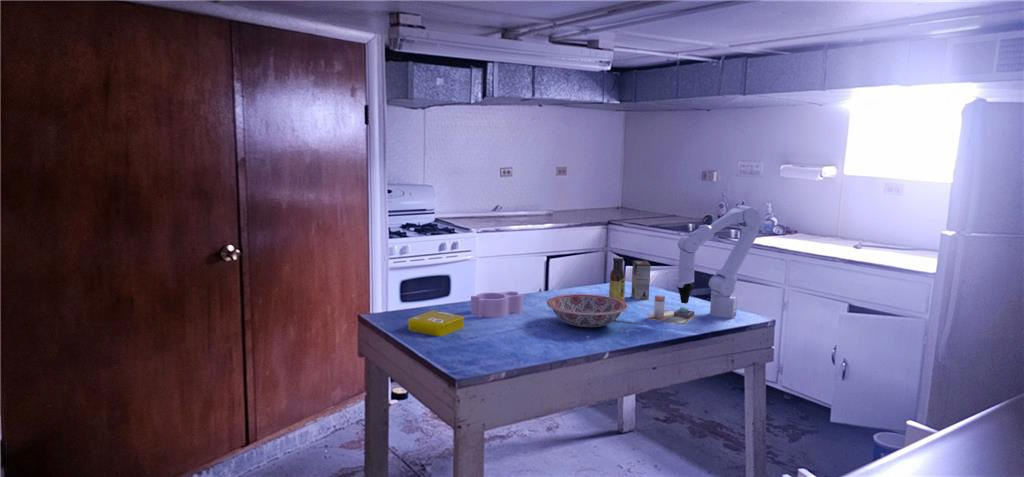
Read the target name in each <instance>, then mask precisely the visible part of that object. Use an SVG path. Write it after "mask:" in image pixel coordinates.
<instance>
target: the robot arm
mask: <svg viewBox="0 0 1024 477" xmlns="http://www.w3.org/2000/svg"><path fill="white" fill-rule="evenodd" d="M761 215H762V214H761V213H760V211H759V209H758V208H756V207H753V206H746V205H744V204H738V205H737V206H735V207H733V208H731V209H730V210H729V211H727V213H725V214H723V215H722V216H721V217H719V218H718V219H717V220H715V221H713V222H712V223H711V224H710V225H709V224H701V225H699V226H698V228H697V229H695V230H694V231H693V232H688V235H682V236H681V237H680V238H679V240H678V242H677V245H676V246H677V247H678V248H679V255H678V256H679V257H678V258H679V260H678V276H677V277H674V281H677V284H676V288H677V290H678V293H679V297H680V302H681V304H684V305H685V304H689V300H690V297H691V293H692V290H693V289H694V287H695V284H693V283H695V268H696V267H695V265H696V252H697V251H698V250H699V247H700V246H702V245H703V244H705V243H707V242H708V241H710V240H712V239H713V238H714V236H715V234H716V233H717V232H718V231H721V230H722V229H724V228H726V227H728V226H730V225H731V224H738V225H739V228H740V231H741V234H740V235H739V237H738V239H737V240H736V243H735V244H734V246H733V248H732V250H731V252H730V253H729V255H728V257H727V259H726V260H725V263H724V265H723V266H722V267H721V268H720V269H718V270H717V271H716V273H714V275H712V276H711V277H710V278H709V281H708V287H709V289H710V291H711V292H710V306H709V307H710V310H709V315H710V316H712V317H716V318H724V319H730V320H731V319H734V318H735V317H736V316H737V307H738V297H737V296H733V295H732V294H734V292H735V289H736V288H735V287H736V284H737V281H738V280H737V273H738V271H739V269H740V267H741V266H742V264H743V262H744V260H745V259H746V256H747V255H748V253H749V251H750V250H751V248H752V245H753V244H754V243H755V240H756V239H757V237H758V235H759V231H760V222H761V220H762V216H761Z"/></svg>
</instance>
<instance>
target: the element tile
mask: <svg viewBox="0 0 1024 477" xmlns="http://www.w3.org/2000/svg"><path fill="white" fill-rule="evenodd" d="M464 323H465V317H464V316H463V315H461V314H460V315H459V314H453V313H450V312H444V311H437V310H430V311H426V312H425V313H422V314H418V315H415V316H413V317H409V318H408V331H411V332H415V333H419V334H426V335H430V336H435V337H444V336H446V335H449V334H451V333H453V332H456V331H458V330H461V329H463V328H464V327H465V324H464Z"/></svg>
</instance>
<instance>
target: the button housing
mask: <svg viewBox="0 0 1024 477" xmlns="http://www.w3.org/2000/svg"><path fill="white" fill-rule="evenodd" d="M694 315H695V310H690V309H689V312H688V314H687V313H681V312H680V308H678V309H676V310H675V311H674V316H675V317H682V318H688V319H690V318H691V317H692V316H694Z"/></svg>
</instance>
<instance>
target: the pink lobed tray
mask: <svg viewBox="0 0 1024 477" xmlns="http://www.w3.org/2000/svg"><path fill="white" fill-rule="evenodd" d="M523 310H524V293H519V292H518V291H510V290H509V291H504V292H482V293H478V294H476V295H471V296H470V314H472V315H478V318H479V319H481V318H490V319H491V318H493V319H494V318H497V319H498V318H502V317H503V318H504V317H506V316H508V315H510V314H521V313H523Z"/></svg>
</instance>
